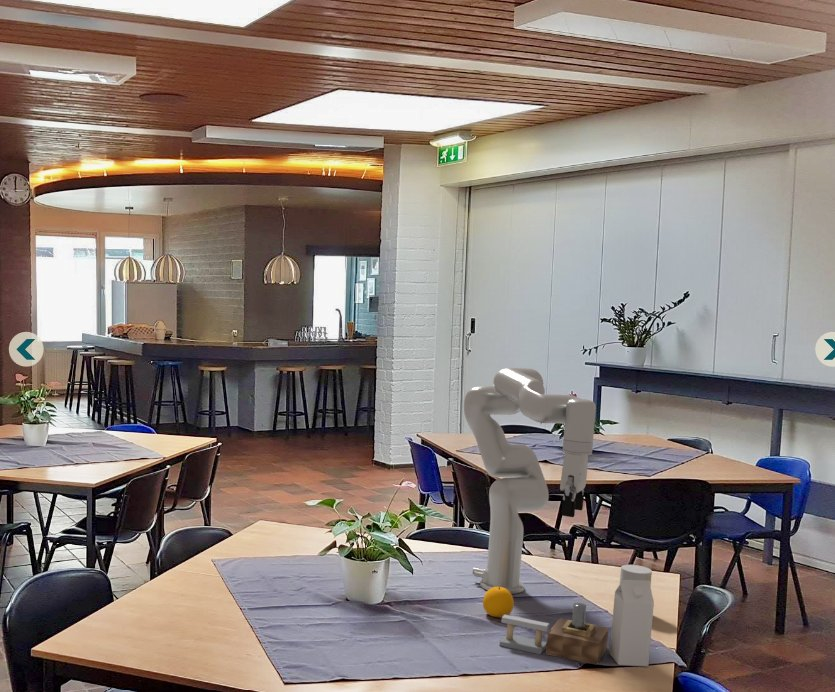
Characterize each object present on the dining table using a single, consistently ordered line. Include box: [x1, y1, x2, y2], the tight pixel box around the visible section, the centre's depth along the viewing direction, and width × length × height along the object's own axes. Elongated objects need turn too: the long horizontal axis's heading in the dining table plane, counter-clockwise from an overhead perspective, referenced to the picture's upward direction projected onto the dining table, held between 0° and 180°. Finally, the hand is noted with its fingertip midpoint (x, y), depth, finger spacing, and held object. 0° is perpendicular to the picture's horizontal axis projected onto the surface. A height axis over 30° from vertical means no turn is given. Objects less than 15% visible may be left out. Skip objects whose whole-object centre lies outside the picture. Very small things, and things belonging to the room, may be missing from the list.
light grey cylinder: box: [619, 564, 653, 587], centre depth 256 cm, size 8×8×12 cm
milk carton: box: [609, 579, 655, 667], centre depth 220 cm, size 7×7×19 cm
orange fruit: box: [482, 587, 515, 618], centre depth 245 cm, size 8×8×8 cm
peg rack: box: [498, 614, 550, 655], centre depth 224 cm, size 11×6×6 cm, turn 68°
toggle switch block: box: [545, 618, 610, 666], centre depth 223 cm, size 12×12×6 cm
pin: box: [571, 602, 587, 631], centre depth 224 cm, size 3×3×10 cm
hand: (572, 512), depth 244 cm, fingers open, 9 cm apart
